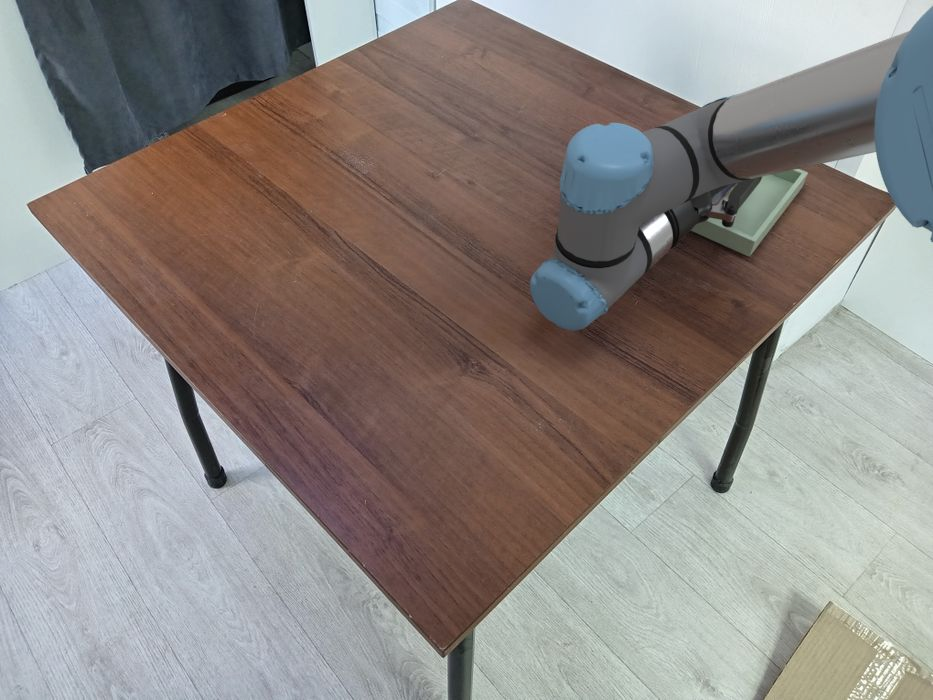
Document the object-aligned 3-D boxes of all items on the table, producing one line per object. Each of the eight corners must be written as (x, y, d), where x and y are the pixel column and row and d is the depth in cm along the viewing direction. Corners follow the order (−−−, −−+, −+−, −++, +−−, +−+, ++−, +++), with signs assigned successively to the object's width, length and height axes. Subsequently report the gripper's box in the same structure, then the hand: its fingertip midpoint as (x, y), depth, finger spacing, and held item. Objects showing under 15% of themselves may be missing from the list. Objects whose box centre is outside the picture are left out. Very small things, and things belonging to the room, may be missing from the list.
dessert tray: (802, 187, 97) (808, 172, 95) (749, 257, 89) (755, 241, 88) (691, 143, 103) (695, 128, 101) (633, 205, 95) (636, 189, 94)
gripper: (581, 217, 88) (694, 124, 99) (702, 285, 82) (809, 177, 92) (588, 164, 83) (707, 71, 93) (719, 232, 76) (831, 123, 86)
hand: (757, 124), depth 93 cm, fingers closed on flask, 3 cm apart
